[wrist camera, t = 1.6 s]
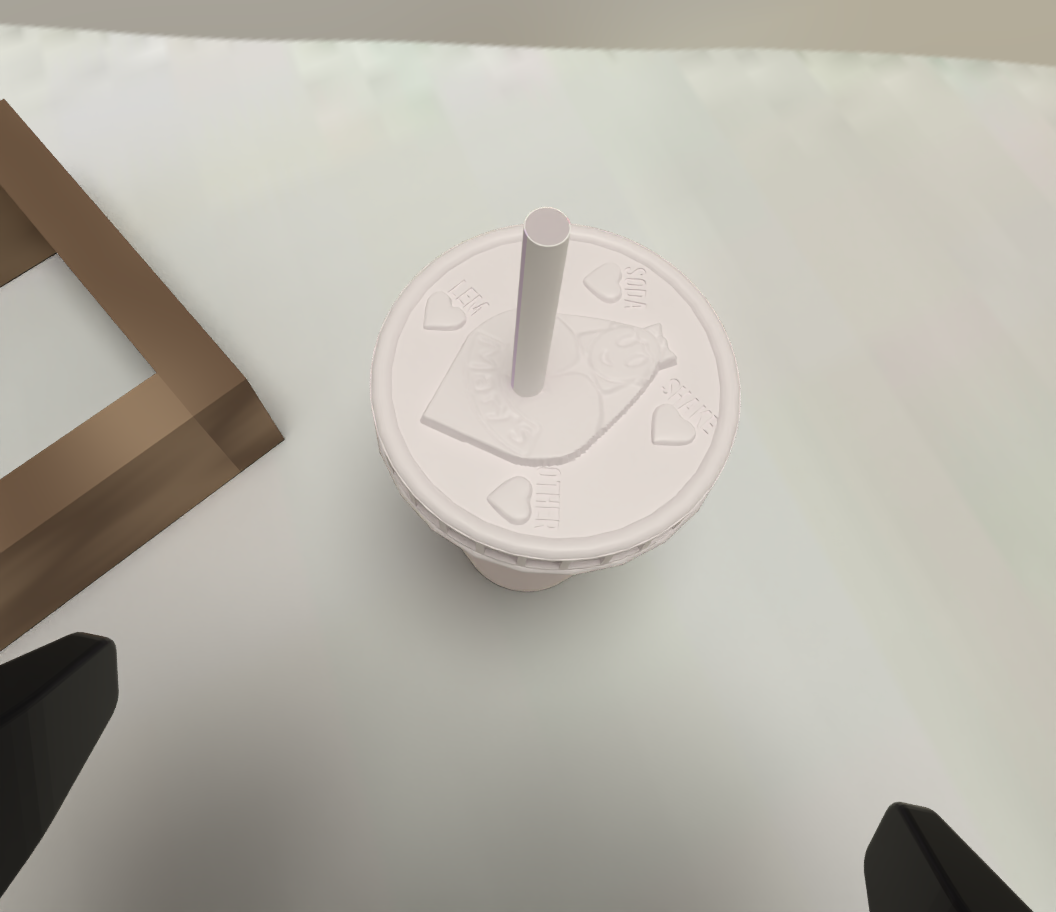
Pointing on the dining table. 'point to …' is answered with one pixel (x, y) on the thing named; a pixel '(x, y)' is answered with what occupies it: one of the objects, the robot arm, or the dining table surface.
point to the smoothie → (553, 399)
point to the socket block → (125, 425)
